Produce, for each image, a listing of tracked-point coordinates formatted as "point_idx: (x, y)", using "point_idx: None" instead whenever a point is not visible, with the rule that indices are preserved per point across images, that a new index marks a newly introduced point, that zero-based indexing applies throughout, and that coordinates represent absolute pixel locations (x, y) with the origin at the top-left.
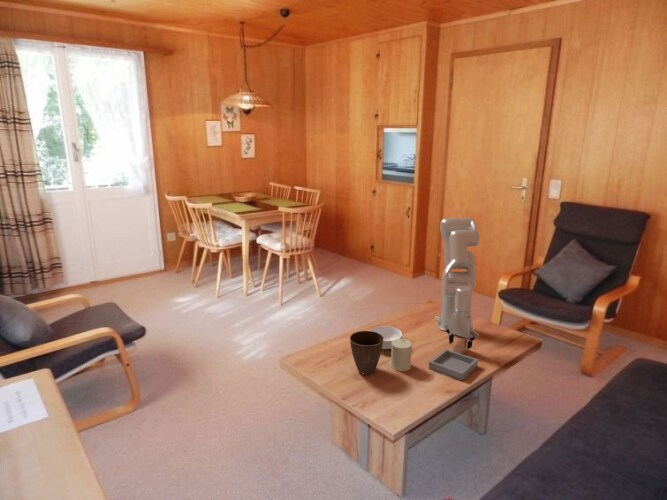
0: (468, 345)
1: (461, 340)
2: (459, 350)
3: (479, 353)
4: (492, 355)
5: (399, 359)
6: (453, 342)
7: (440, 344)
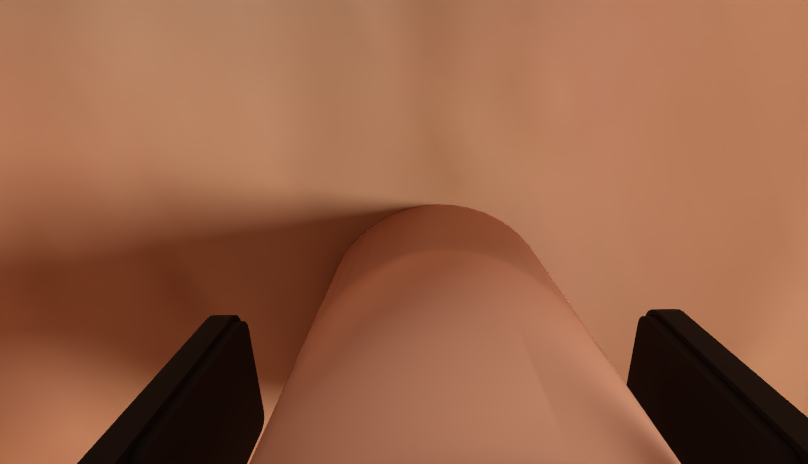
0: (162, 373)
1: (314, 412)
2: (388, 233)
3: None
4: (39, 448)
5: None
6: (594, 340)
7: (798, 302)
